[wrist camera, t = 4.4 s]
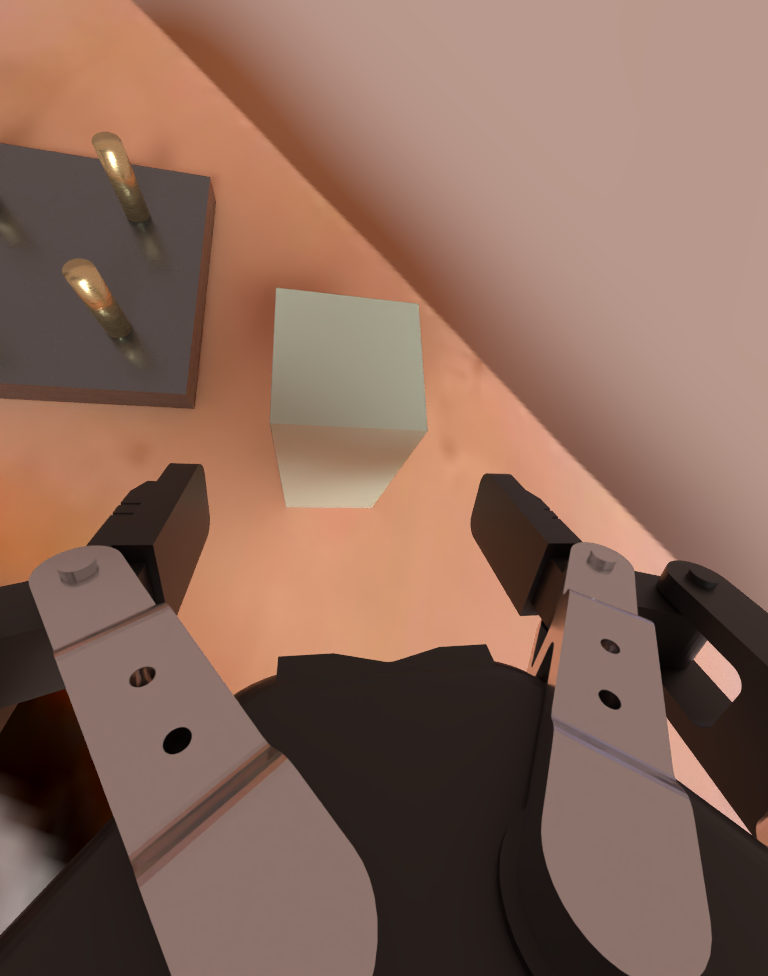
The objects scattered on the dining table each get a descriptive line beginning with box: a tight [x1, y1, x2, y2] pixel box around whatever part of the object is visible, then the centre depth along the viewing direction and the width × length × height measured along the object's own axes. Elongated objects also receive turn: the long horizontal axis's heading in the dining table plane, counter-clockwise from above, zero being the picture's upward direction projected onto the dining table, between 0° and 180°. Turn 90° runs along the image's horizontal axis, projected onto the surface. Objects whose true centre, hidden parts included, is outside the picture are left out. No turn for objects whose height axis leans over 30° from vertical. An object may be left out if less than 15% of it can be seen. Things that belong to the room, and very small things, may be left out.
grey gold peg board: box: [0, 132, 216, 409], centre depth 18 cm, size 14×14×5 cm
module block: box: [270, 288, 428, 508], centre depth 16 cm, size 4×4×10 cm
